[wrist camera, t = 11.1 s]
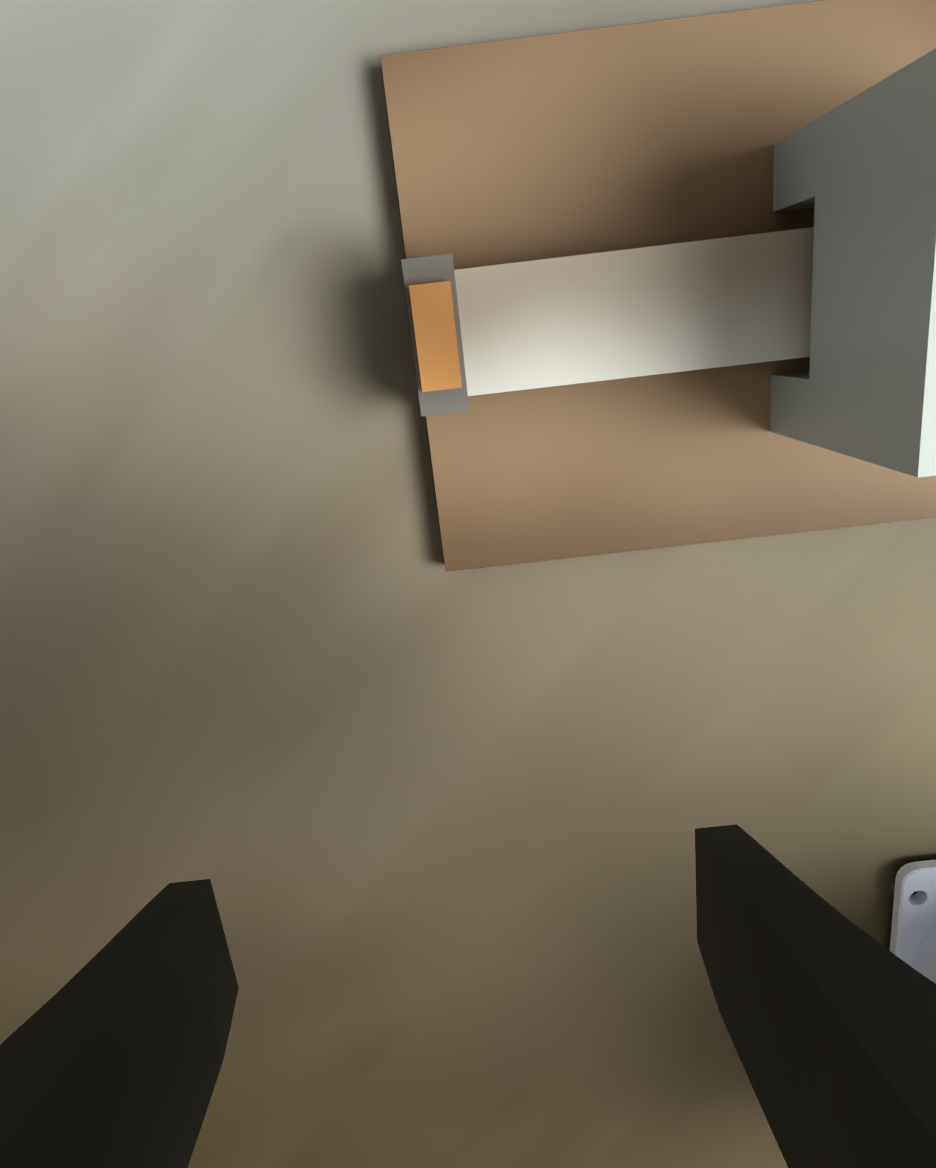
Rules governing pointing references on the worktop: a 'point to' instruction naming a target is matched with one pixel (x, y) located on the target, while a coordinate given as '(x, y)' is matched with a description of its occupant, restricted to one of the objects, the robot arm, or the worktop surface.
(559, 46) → the rail mount
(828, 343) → the block
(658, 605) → the worktop surface
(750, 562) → the worktop surface
